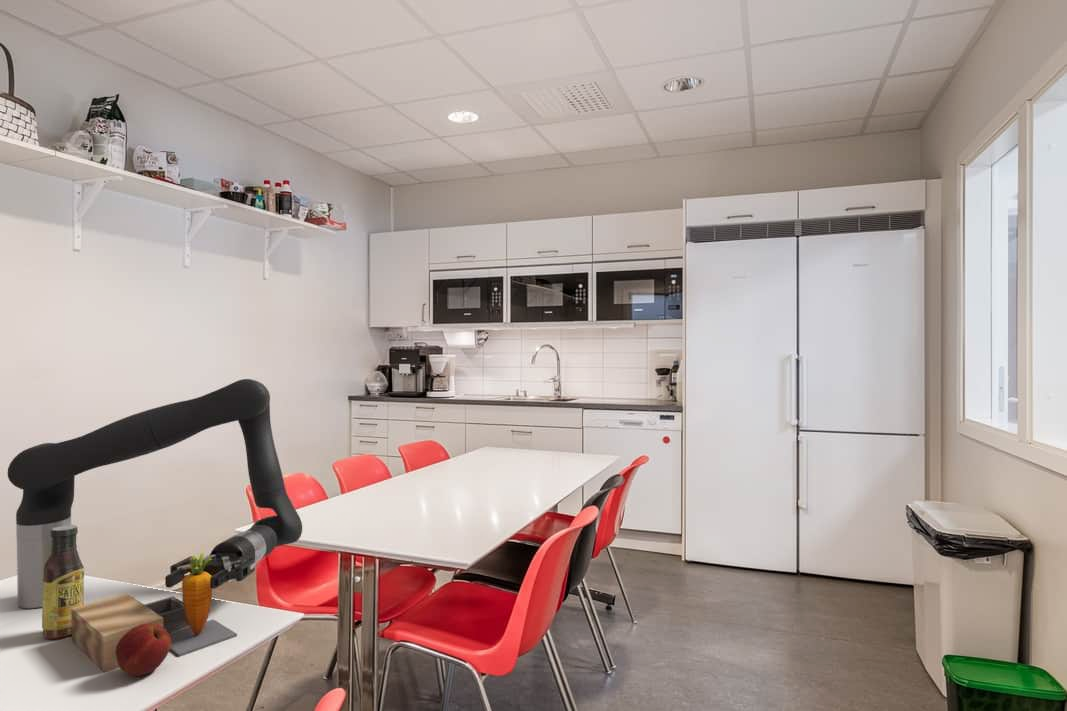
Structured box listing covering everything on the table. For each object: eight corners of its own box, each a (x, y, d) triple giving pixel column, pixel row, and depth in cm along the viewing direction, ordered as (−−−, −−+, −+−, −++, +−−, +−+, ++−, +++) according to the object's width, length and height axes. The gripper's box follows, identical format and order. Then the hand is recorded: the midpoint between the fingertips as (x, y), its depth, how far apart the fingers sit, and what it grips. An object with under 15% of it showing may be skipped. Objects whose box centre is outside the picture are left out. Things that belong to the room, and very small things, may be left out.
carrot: (199, 627, 119) (199, 548, 119) (218, 631, 117) (218, 551, 117) (175, 638, 114) (175, 556, 114) (195, 643, 112) (195, 559, 112)
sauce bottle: (61, 642, 114) (59, 533, 114) (33, 639, 115) (31, 532, 115) (93, 626, 121) (91, 523, 120) (66, 624, 122) (64, 522, 122)
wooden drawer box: (71, 640, 115) (71, 608, 115) (169, 611, 127) (169, 581, 127) (104, 672, 103) (103, 636, 103) (208, 636, 116) (207, 604, 116)
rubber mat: (157, 639, 115) (156, 637, 115) (213, 621, 122) (213, 619, 122) (179, 656, 108) (179, 654, 108) (237, 635, 116) (237, 633, 116)
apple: (148, 685, 99) (147, 635, 99) (103, 683, 100) (102, 633, 100) (179, 662, 106) (178, 615, 106) (136, 660, 107) (136, 614, 107)
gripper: (206, 534, 130) (152, 561, 114) (272, 536, 129) (227, 563, 113) (206, 570, 130) (152, 602, 114) (272, 572, 129) (227, 604, 113)
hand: (189, 582), depth 113 cm, fingers open, 8 cm apart
